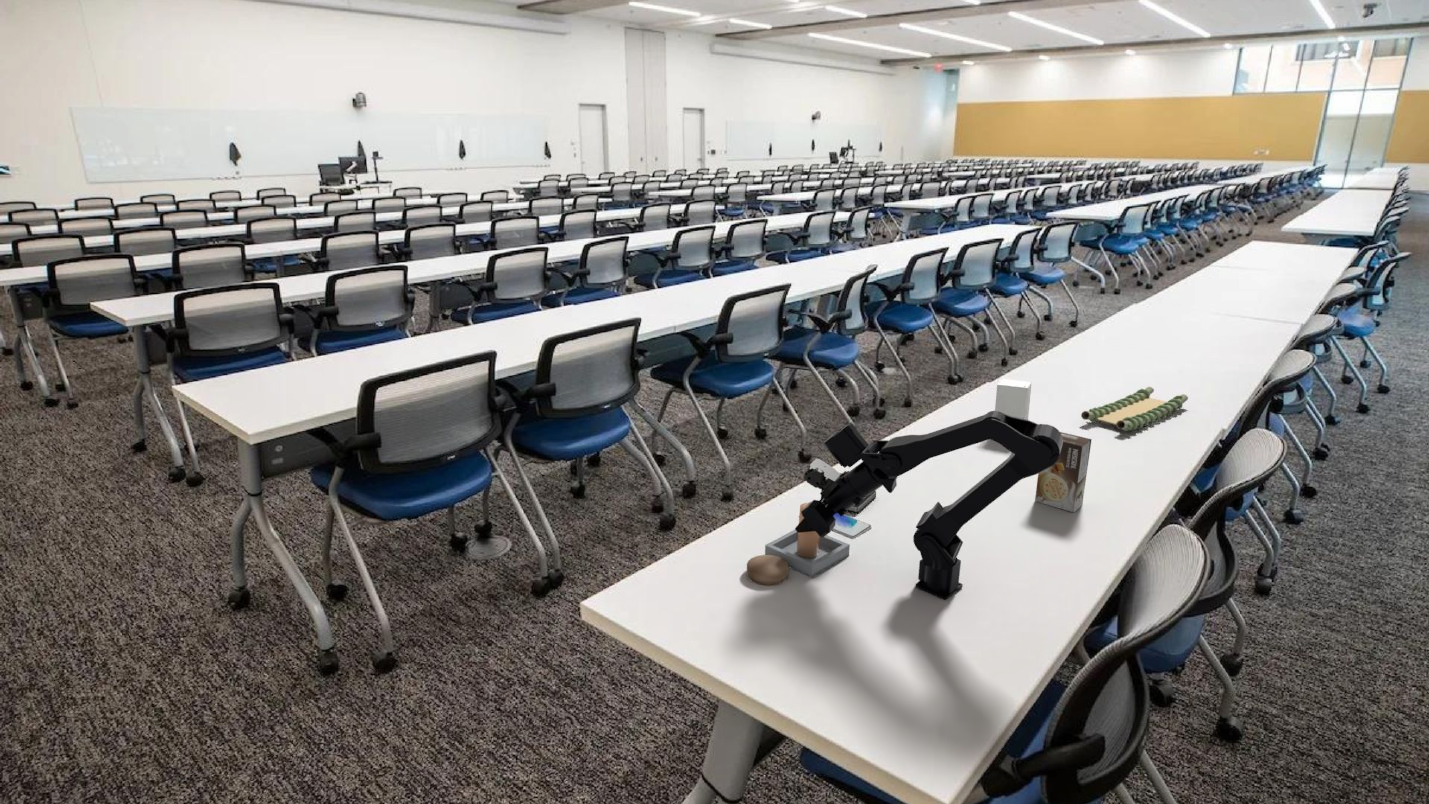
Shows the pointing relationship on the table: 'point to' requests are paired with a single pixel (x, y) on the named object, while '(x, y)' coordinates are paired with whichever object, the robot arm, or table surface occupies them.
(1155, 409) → the stretcher
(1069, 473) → the coffee box
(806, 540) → the peach stamp handle
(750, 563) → the brown stone
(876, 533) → the table surface
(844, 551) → the tray
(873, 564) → the table surface
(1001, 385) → the skincare box
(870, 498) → the external hard drive
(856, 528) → the smartphone
